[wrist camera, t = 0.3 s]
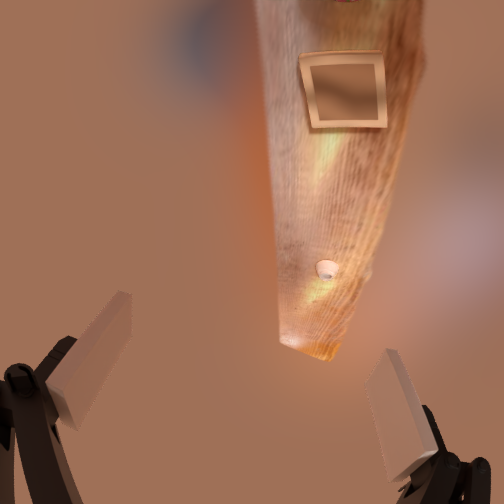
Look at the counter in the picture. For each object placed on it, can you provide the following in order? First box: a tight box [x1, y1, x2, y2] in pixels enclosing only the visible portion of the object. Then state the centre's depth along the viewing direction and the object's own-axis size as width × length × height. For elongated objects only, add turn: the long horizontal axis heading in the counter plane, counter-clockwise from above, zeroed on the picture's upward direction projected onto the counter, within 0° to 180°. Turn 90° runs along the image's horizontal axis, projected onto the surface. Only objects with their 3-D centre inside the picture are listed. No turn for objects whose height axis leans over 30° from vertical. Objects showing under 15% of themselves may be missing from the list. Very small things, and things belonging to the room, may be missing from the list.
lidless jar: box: [316, 260, 339, 281], centre depth 63 cm, size 5×3×5 cm
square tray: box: [298, 50, 387, 128], centre depth 32 cm, size 10×10×3 cm
